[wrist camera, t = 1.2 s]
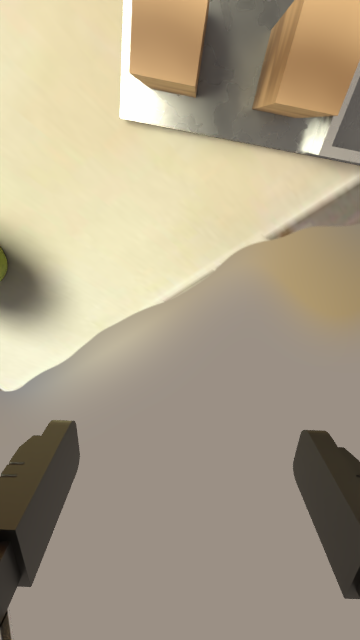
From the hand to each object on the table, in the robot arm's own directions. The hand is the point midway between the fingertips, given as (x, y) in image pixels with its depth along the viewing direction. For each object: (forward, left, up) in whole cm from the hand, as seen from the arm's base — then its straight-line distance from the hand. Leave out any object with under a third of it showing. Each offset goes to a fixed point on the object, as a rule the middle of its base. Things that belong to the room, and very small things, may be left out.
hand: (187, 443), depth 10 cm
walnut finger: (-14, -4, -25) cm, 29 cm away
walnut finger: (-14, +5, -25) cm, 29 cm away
